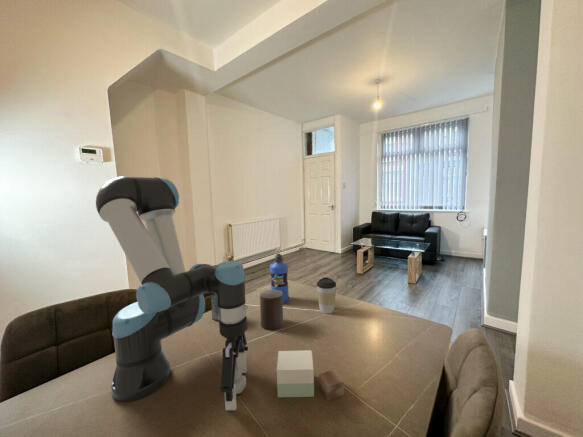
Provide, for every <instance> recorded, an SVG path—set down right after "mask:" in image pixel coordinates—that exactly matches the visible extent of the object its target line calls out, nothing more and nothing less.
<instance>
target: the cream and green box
mask: <svg viewBox="0 0 583 437" xmlns="http://www.w3.org/2000/svg"><path fill="white" fill-rule="evenodd" d="M312 351H313V350H305V349H304V350H278V352H277V353H278V354H277V361H276V362H277V364H276V387H277V398H304V397H306V398H311V397H312V398H314V397H315V379H314V377H315V374H314V372H315V370H314V362H313V360H314V359H313V353H312Z"/></svg>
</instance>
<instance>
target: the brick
mask: <svg viewBox="0 0 583 437" xmlns="http://www.w3.org/2000/svg"><path fill="white" fill-rule="evenodd" d="M318 377H319V382H318V383H319V384H318V385H319V388H320V390H321V392H322V393H323V395H324V396H325V398H326V400H327V401H329V400H333V399H335V398H336V399H337V398H338V397H341V396H344V395H345V386H344V385H345V384H344V383H345V382H344V380H343V379H342V378H341V375H339V373H338V372H337V370H336V369H332V370H329V371H325V372H322V373H319V374H318Z"/></svg>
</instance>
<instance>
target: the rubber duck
mask: <svg viewBox="0 0 583 437" xmlns="http://www.w3.org/2000/svg"><path fill="white" fill-rule="evenodd" d="M234 385H235V389H236V395H238V394H241V393H242V392H243V391H244V389H245V388H246V386H247V378H246V376H245V375H243V373H241V369H240V368H239V367H238V368H237V366H236V368H235V378H234Z"/></svg>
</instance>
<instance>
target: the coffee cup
mask: <svg viewBox="0 0 583 437" xmlns="http://www.w3.org/2000/svg"><path fill="white" fill-rule="evenodd" d="M316 287H317V300H318V309H319V312H320V311H321V312H320V313H322V314H325V313H330V314H333V313H334V312H335V303H336V292H337V291H336V287H337V283H336V281H335V280H334V279H332V278H329V277H328V276H327V277H322V278H320V279H319V280H318V281H317V282H316ZM333 311H334V312H333ZM332 312H333V313H332Z"/></svg>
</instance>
